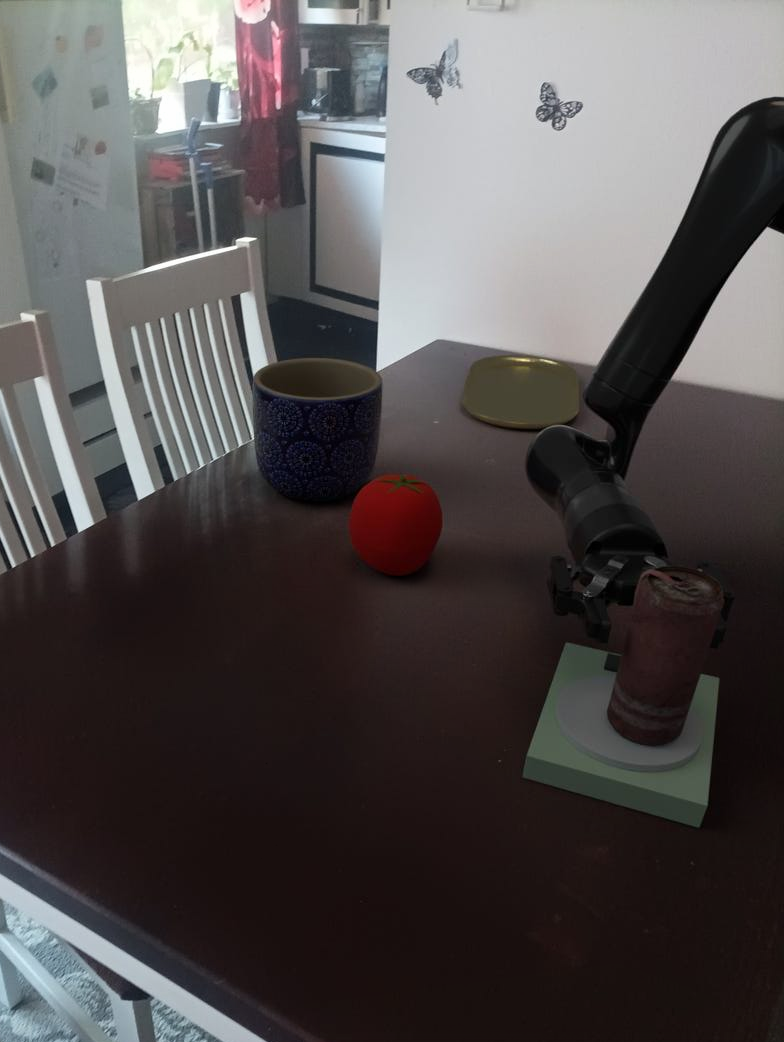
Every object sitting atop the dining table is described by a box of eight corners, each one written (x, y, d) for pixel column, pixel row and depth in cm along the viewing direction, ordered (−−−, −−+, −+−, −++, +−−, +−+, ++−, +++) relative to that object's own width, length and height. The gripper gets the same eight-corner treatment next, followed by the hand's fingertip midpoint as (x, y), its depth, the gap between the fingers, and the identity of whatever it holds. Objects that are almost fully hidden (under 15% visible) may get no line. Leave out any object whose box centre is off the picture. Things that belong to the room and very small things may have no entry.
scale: (561, 662, 89) (567, 635, 87) (712, 699, 84) (722, 670, 82) (522, 777, 75) (528, 747, 73) (699, 828, 71) (710, 798, 69)
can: (611, 693, 79) (648, 554, 71) (686, 716, 77) (733, 574, 69) (594, 732, 75) (631, 588, 67) (673, 757, 72) (721, 611, 65)
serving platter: (454, 426, 140) (455, 416, 140) (473, 359, 168) (474, 351, 168) (577, 438, 137) (579, 428, 136) (576, 368, 165) (578, 359, 164)
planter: (330, 452, 131) (334, 350, 123) (401, 494, 120) (410, 384, 112) (232, 477, 124) (228, 369, 115) (297, 524, 112) (298, 408, 104)
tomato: (358, 591, 99) (363, 502, 93) (340, 546, 108) (343, 462, 102) (450, 584, 101) (460, 496, 95) (425, 540, 109) (433, 457, 103)
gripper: (540, 499, 81) (576, 593, 68) (699, 504, 81) (768, 599, 67) (527, 571, 85) (559, 673, 72) (679, 576, 85) (739, 679, 72)
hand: (660, 637), depth 70 cm, fingers open, 8 cm apart
